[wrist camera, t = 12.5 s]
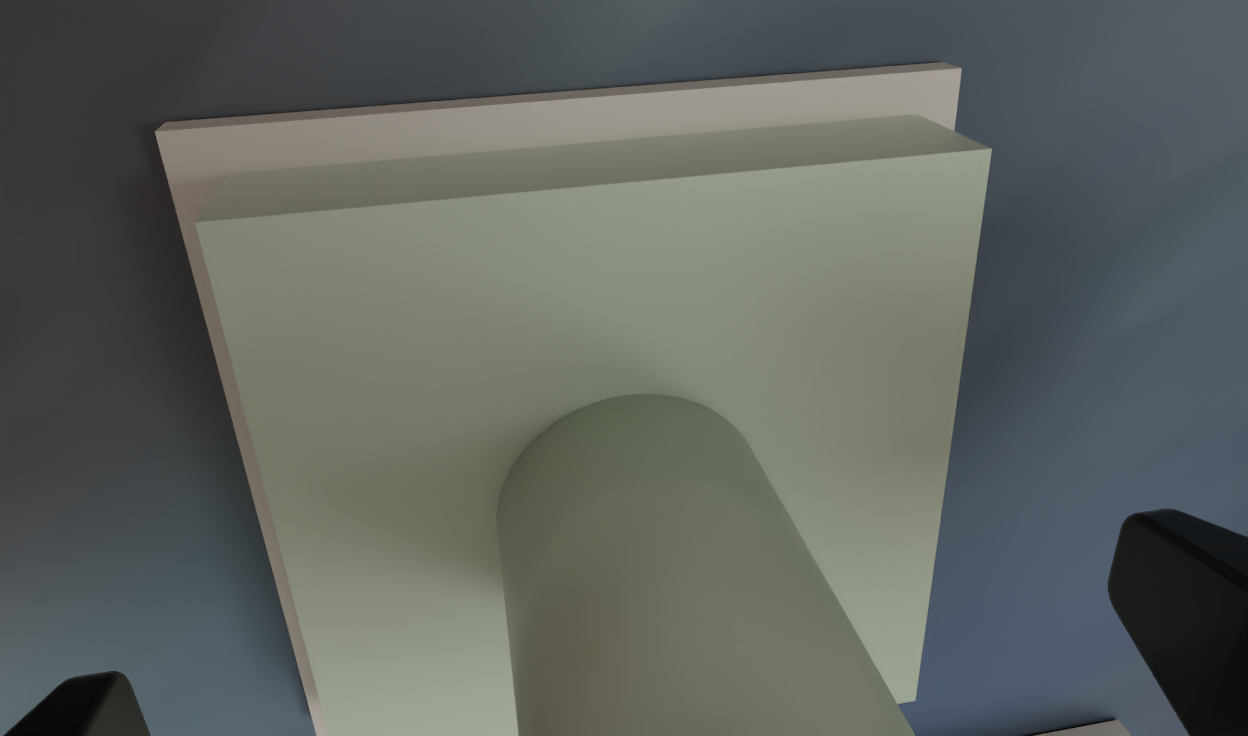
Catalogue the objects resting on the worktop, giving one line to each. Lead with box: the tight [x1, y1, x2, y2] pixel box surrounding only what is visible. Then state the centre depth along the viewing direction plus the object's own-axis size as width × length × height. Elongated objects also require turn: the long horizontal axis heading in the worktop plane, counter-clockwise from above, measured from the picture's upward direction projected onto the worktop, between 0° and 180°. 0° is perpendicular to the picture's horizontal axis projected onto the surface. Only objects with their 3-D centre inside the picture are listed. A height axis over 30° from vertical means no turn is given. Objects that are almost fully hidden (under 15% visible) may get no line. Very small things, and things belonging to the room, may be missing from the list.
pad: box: [155, 62, 962, 736], centre depth 11 cm, size 8×8×1 cm
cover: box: [195, 114, 992, 736], centre depth 9 cm, size 7×7×6 cm
